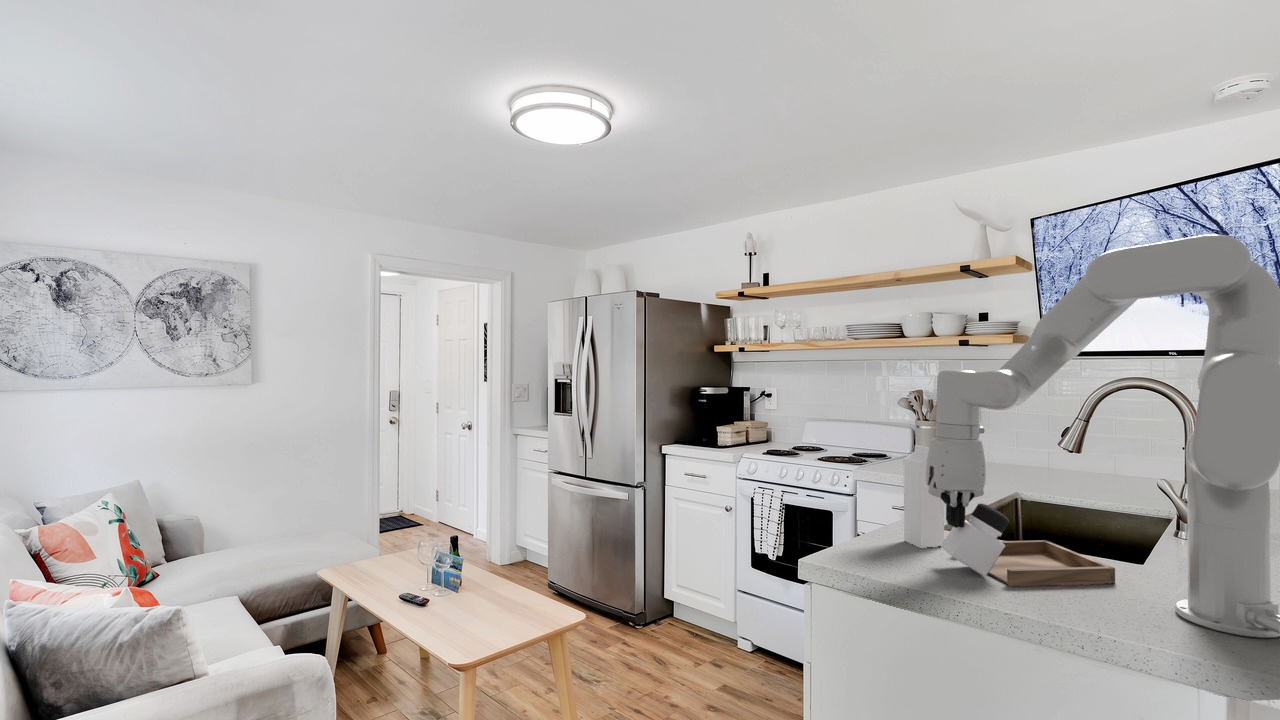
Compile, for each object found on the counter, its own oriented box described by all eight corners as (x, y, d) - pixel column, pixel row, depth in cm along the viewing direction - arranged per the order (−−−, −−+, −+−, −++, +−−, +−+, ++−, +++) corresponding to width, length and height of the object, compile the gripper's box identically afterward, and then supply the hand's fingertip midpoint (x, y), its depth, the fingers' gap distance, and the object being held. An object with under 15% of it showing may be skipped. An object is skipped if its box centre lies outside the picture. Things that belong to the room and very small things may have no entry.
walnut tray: (1115, 583, 115) (1115, 568, 115) (1010, 586, 114) (1010, 570, 114) (1045, 553, 133) (1045, 540, 133) (954, 556, 132) (954, 542, 132)
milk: (926, 539, 144) (926, 444, 144) (944, 547, 138) (944, 447, 138) (903, 541, 143) (903, 444, 143) (920, 548, 137) (920, 448, 137)
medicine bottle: (986, 577, 118) (1020, 524, 117) (951, 556, 119) (985, 503, 119) (972, 566, 125) (1005, 515, 125) (939, 546, 126) (972, 496, 126)
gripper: (981, 430, 127) (980, 520, 127) (910, 430, 126) (909, 520, 126) (1006, 435, 119) (1004, 530, 120) (930, 435, 118) (928, 531, 119)
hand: (955, 525), depth 123 cm, fingers closed
